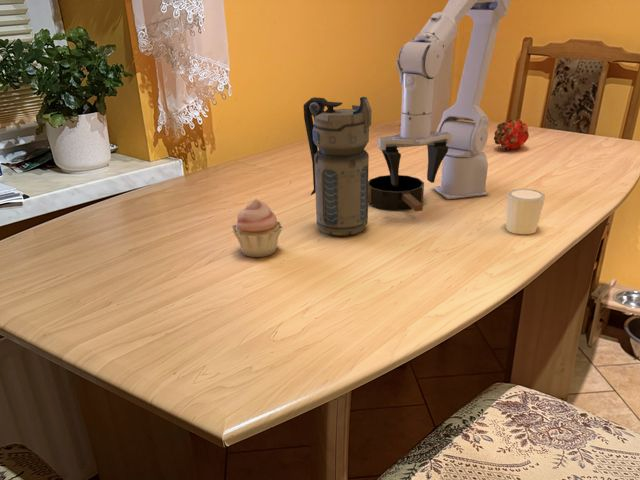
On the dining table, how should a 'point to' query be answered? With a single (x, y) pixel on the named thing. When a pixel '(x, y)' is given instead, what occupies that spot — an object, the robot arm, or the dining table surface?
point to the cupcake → (257, 230)
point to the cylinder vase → (441, 87)
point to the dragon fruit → (511, 134)
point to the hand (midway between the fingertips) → (412, 183)
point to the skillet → (396, 193)
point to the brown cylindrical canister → (339, 164)
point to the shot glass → (523, 210)
